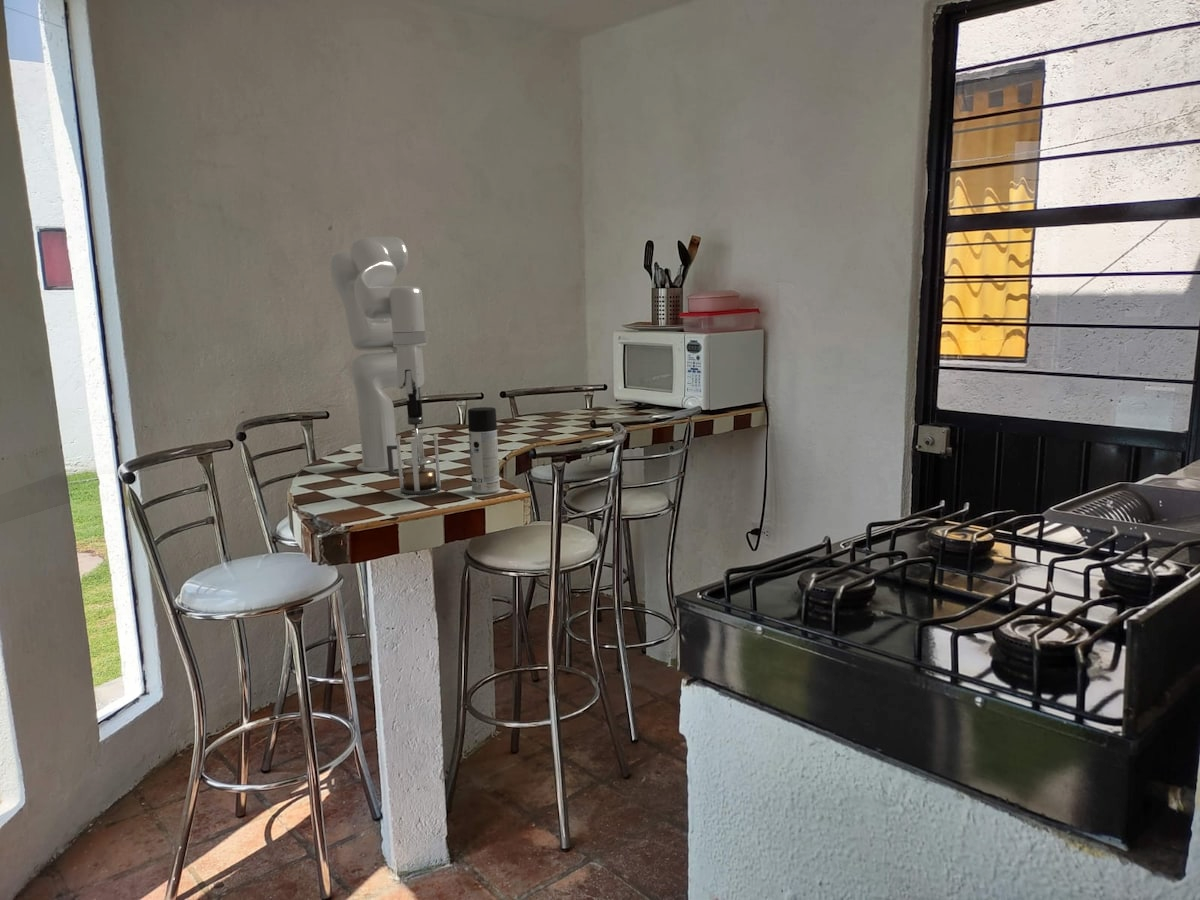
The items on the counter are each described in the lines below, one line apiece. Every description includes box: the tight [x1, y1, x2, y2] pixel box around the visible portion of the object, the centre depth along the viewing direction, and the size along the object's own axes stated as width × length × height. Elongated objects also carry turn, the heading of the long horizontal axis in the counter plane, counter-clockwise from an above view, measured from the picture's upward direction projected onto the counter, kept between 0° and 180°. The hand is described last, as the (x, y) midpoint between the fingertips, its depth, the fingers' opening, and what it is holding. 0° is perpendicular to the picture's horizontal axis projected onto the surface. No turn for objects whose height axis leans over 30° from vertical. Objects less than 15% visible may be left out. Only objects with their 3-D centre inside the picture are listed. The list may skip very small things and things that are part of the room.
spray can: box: [467, 406, 501, 495], centre depth 207 cm, size 7×7×20 cm
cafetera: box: [387, 431, 442, 496], centre depth 210 cm, size 10×12×14 cm
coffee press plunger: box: [402, 415, 435, 467], centre depth 209 cm, size 7×7×11 cm
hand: (415, 416), depth 208 cm, fingers closed
